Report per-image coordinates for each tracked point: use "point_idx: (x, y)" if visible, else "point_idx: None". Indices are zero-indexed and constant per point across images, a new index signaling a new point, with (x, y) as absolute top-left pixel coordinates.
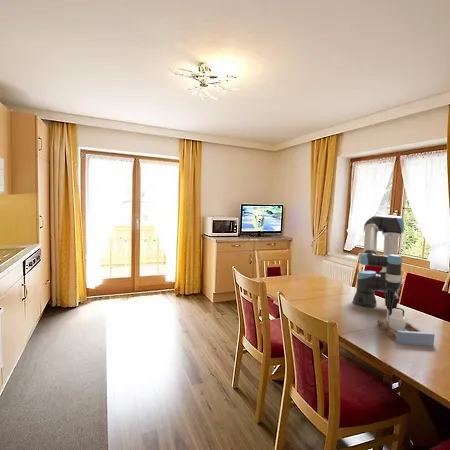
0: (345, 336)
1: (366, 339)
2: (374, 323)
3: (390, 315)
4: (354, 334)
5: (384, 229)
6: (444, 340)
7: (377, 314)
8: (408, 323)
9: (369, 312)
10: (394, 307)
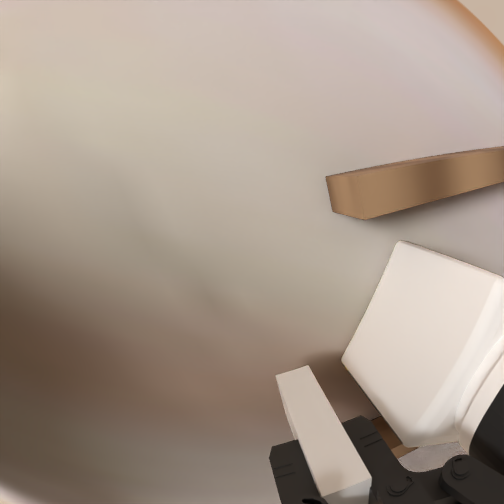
0: None
1: None
2: None
3: (450, 442)
4: None
5: None
6: (465, 10)
7: (59, 415)
8: (409, 197)
9: (60, 455)
10: (493, 494)
